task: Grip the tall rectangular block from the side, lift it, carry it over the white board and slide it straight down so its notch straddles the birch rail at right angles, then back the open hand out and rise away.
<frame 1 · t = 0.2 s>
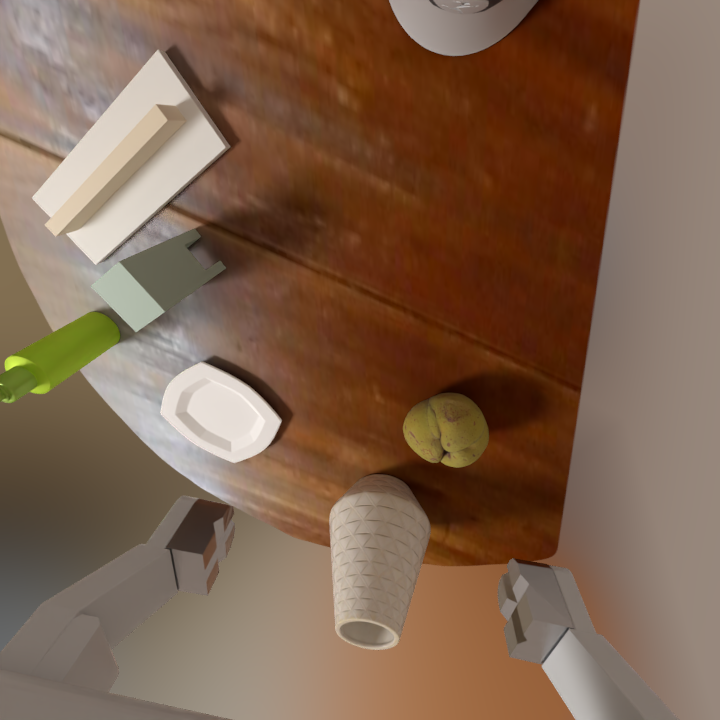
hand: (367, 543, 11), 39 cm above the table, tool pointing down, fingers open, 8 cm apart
rail board: (128, 173, 45), on the table
fruit: (444, 405, 57), on the table
plate: (224, 409, 64), on the table
soap dispenser: (101, 325, 58), on the table
tall rectangular block: (198, 258, 49), on the table
vase: (382, 492, 69), on the table
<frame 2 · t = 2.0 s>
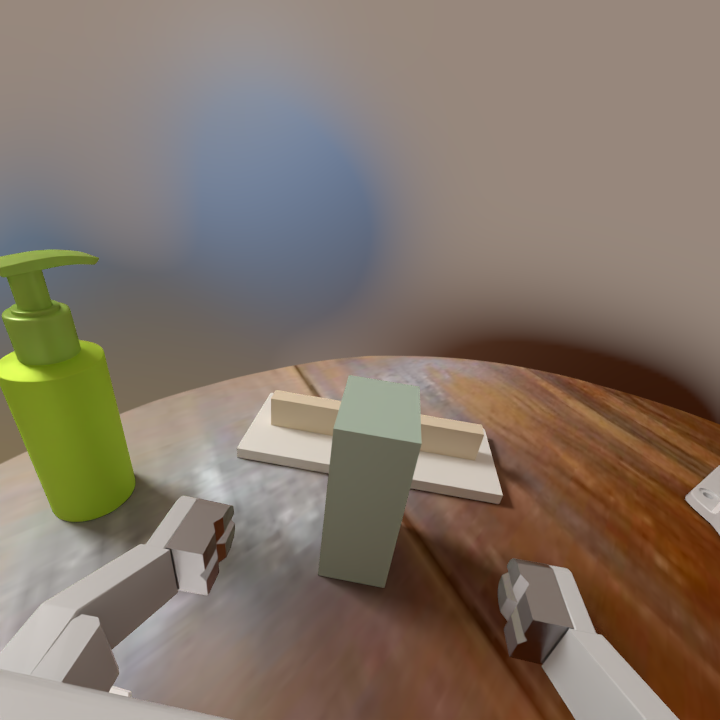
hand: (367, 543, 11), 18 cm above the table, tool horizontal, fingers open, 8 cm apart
rail board: (370, 446, 40), on the table
soap dispenser: (102, 489, 32), on the table
tall rectangular block: (356, 544, 30), on the table
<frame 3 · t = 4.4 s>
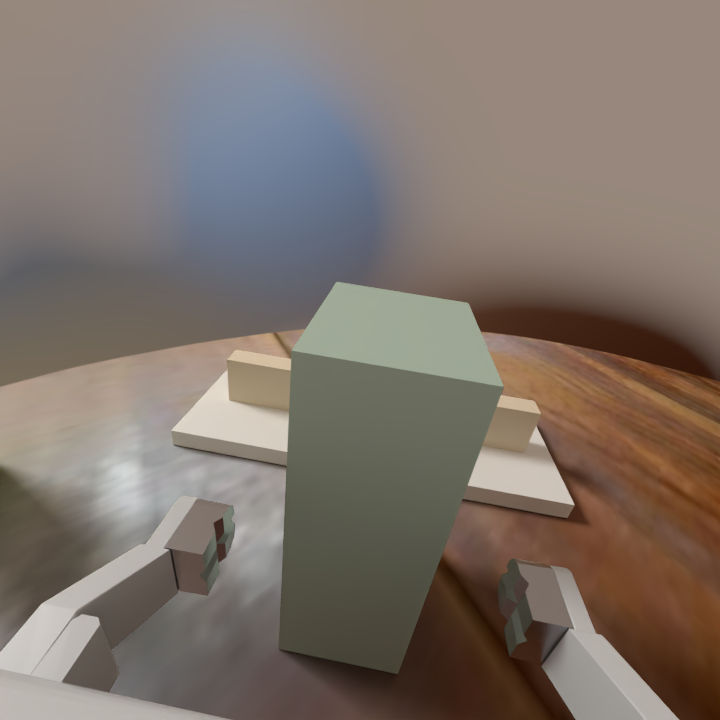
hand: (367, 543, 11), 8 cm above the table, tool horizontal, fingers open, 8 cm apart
rail board: (372, 432, 28), on the table
tall rectangular block: (348, 588, 18), on the table
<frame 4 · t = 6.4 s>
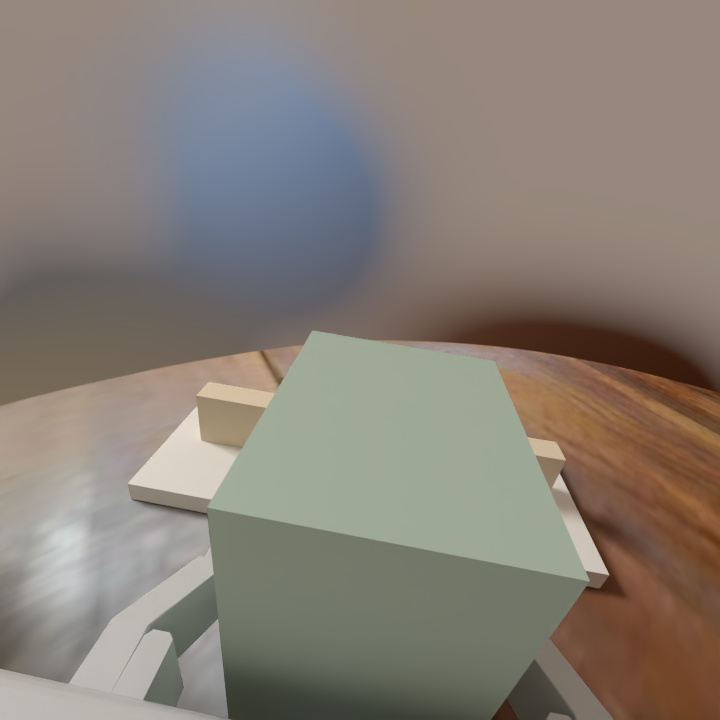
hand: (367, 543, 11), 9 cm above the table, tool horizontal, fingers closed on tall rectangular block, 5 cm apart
rail board: (367, 475, 25), on the table
tall rectangular block: (334, 706, 14), on the table, touching gripper
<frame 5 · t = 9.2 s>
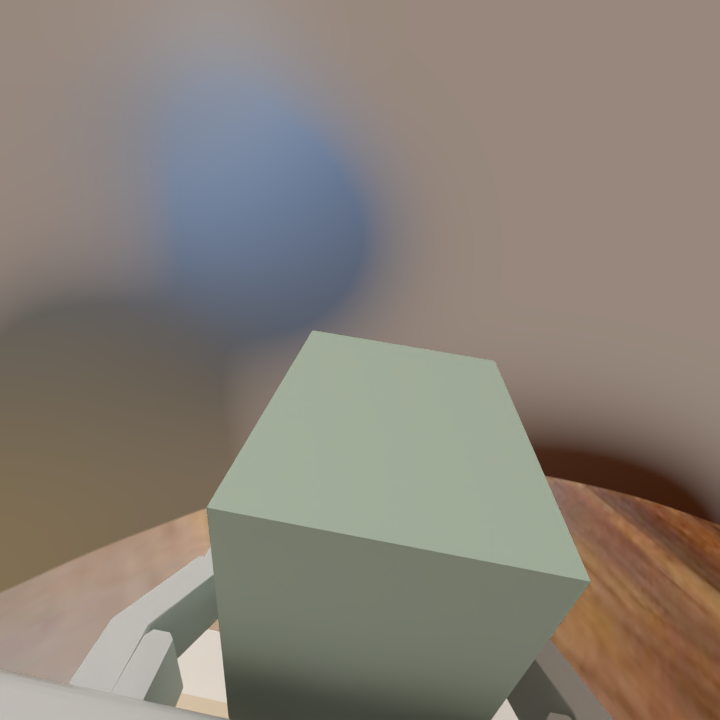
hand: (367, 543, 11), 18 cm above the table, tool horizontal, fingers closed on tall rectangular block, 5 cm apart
tall rectangular block: (334, 706, 14), point 9 cm above the table, touching gripper
when the fingers open (11 cm above the table, at t = 12.0 s): tall rectangular block stays where it is, resting on rail board.
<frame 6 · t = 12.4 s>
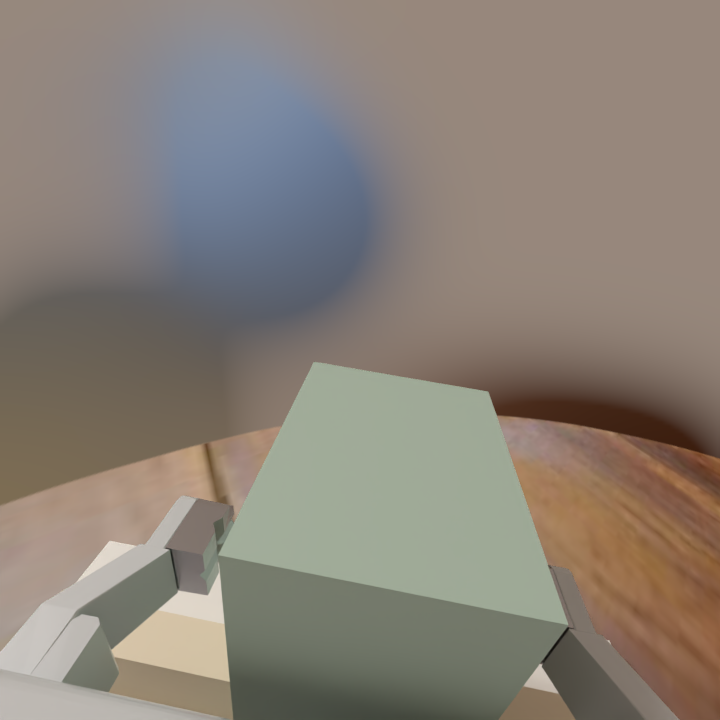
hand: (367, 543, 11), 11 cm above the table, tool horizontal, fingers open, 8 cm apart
tall rectangular block: (335, 717, 14), point 1 cm above the table, touching rail board
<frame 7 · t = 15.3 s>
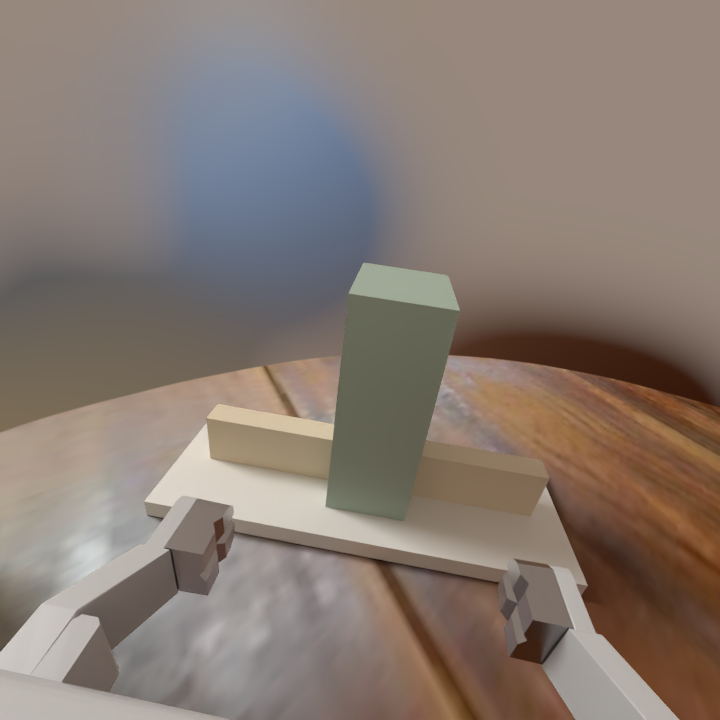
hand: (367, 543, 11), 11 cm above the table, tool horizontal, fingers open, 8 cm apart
rail board: (365, 490, 26), on the table
tall rectangular block: (369, 478, 26), point 1 cm above the table, touching rail board
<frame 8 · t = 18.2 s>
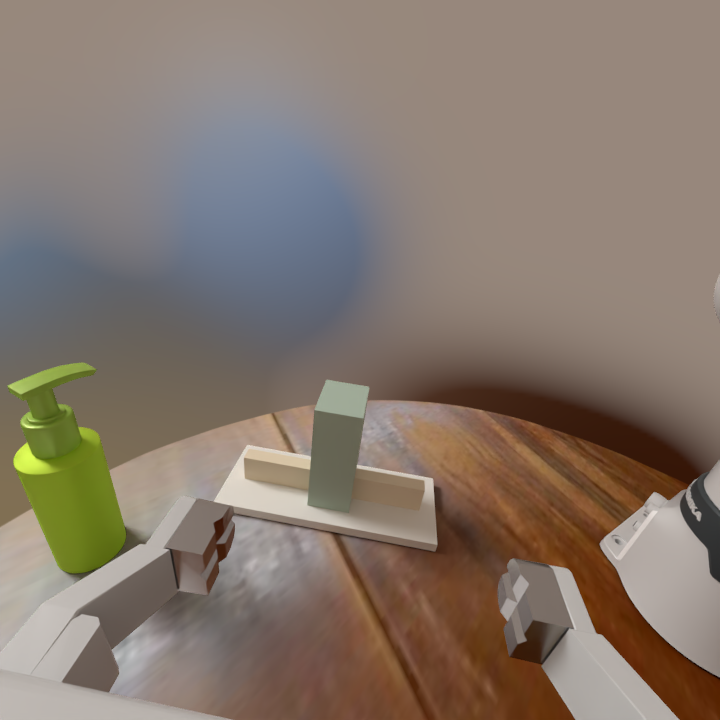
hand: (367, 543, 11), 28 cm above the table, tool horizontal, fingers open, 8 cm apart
rail board: (331, 496, 47), on the table
soap dispenser: (98, 542, 38), on the table
tall rectangular block: (332, 489, 46), point 1 cm above the table, touching rail board
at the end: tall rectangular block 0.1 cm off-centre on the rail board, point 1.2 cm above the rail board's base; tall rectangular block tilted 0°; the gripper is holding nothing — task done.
